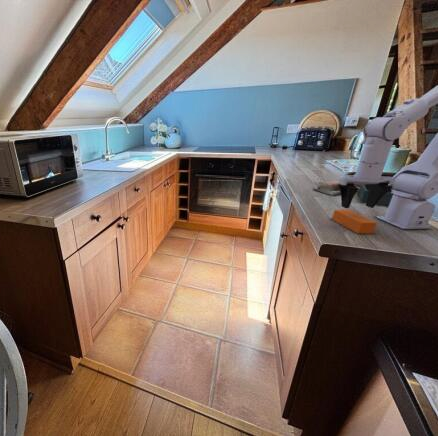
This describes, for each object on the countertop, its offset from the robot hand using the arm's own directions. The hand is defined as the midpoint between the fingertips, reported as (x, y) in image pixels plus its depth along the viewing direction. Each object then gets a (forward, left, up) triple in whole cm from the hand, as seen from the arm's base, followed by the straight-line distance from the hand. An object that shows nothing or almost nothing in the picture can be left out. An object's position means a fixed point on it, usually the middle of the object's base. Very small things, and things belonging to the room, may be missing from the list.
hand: (357, 207), depth 75 cm
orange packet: (0, 0, -6) cm, 6 cm away
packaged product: (+38, -23, -7) cm, 45 cm away
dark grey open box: (+24, -30, -6) cm, 39 cm away
